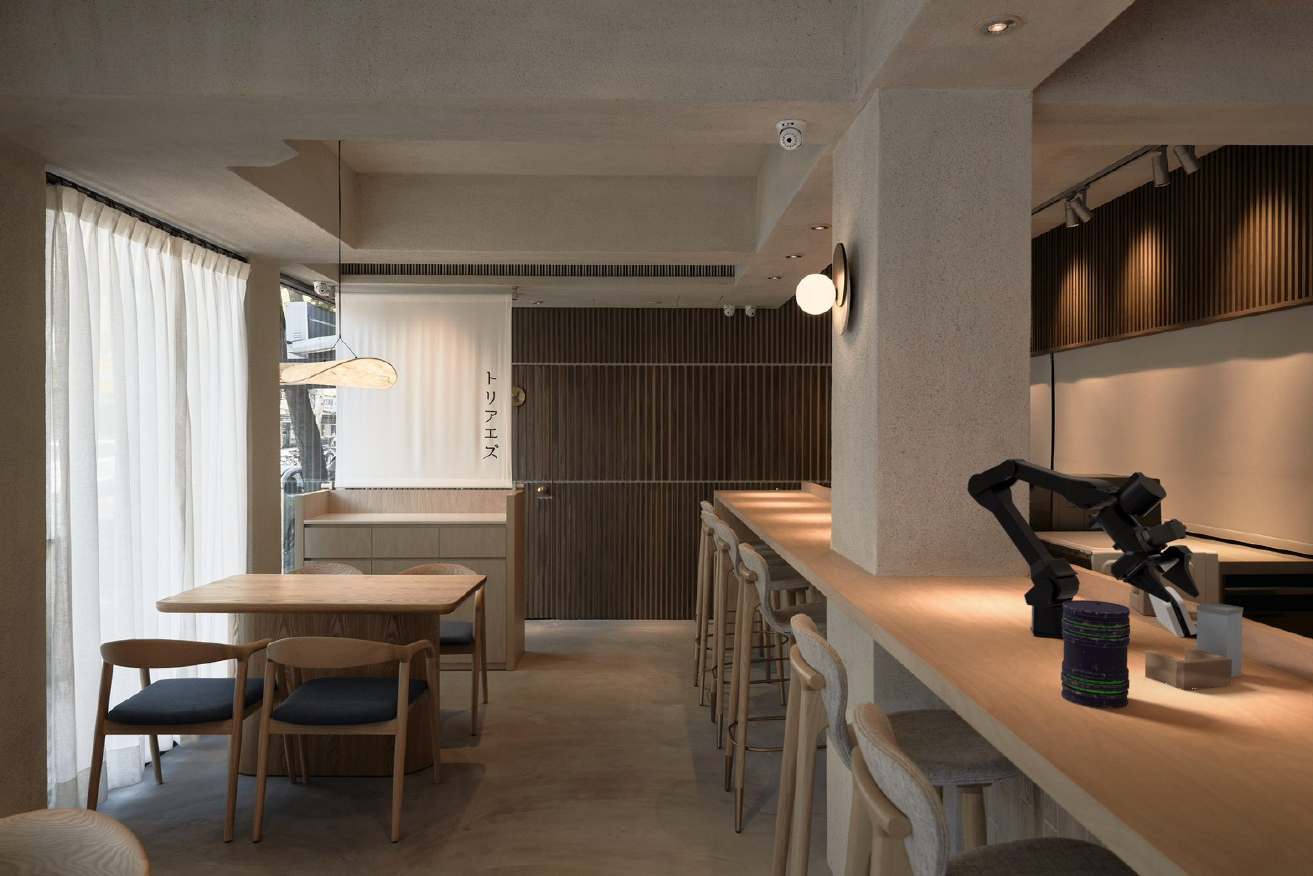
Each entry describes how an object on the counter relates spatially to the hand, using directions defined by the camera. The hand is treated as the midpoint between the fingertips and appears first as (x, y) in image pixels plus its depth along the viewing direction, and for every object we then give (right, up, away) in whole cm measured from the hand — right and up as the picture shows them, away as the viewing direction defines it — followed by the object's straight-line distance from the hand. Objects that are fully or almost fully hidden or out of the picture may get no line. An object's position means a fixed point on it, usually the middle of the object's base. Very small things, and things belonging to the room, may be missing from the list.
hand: (1184, 598), depth 162 cm
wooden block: (+19, -12, +47) cm, 52 cm away
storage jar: (-26, -13, -20) cm, 35 cm away
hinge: (+15, -12, +29) cm, 35 cm away
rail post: (+3, -12, -5) cm, 14 cm away
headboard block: (-5, -12, -9) cm, 16 cm away
